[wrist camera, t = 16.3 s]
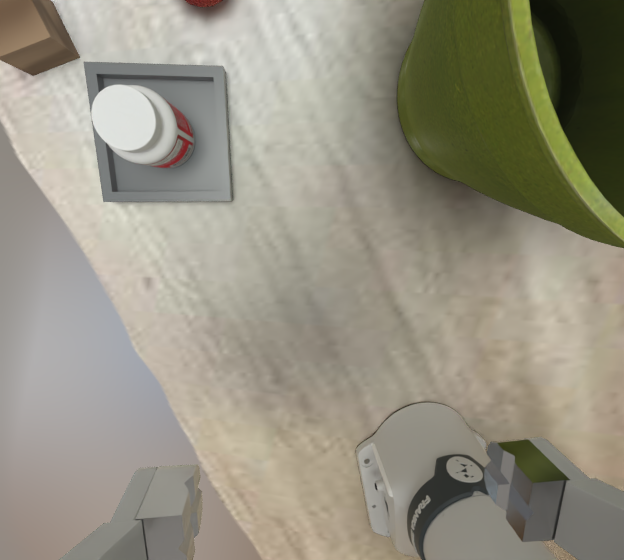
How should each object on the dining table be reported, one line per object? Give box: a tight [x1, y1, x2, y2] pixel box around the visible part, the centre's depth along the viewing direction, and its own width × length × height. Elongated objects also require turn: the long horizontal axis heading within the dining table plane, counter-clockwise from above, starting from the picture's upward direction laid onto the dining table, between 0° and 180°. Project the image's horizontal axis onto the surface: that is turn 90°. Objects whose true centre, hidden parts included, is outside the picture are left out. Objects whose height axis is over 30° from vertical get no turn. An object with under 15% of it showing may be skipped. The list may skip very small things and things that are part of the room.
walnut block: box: [0, 0, 80, 76], centre depth 33 cm, size 5×5×5 cm
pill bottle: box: [91, 85, 195, 168], centre depth 32 cm, size 6×6×11 cm
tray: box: [84, 62, 233, 202], centre depth 37 cm, size 13×13×2 cm
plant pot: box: [397, 0, 624, 248], centre depth 27 cm, size 30×30×29 cm
